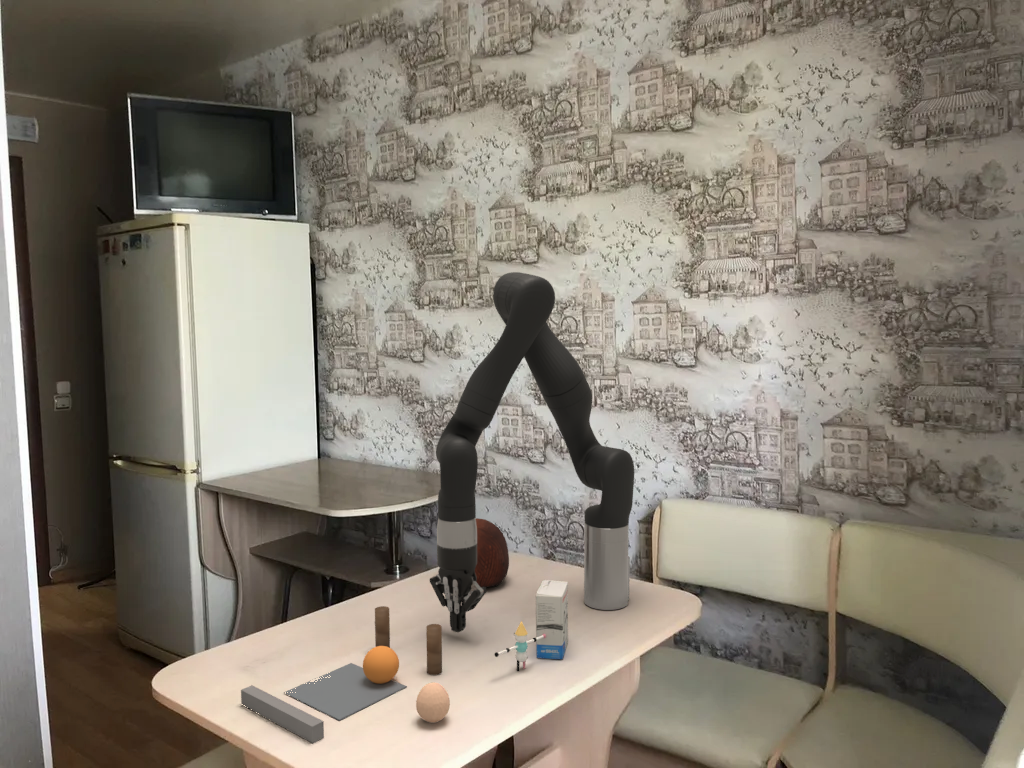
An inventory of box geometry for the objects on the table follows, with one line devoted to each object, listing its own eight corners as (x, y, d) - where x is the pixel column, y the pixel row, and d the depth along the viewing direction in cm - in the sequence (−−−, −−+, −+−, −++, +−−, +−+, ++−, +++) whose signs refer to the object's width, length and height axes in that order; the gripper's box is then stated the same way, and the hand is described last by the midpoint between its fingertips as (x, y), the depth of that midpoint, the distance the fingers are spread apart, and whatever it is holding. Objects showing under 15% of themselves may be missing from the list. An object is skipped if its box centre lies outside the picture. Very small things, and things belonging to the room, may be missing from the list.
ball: (382, 637, 140) (357, 645, 135) (408, 648, 137) (383, 657, 132) (378, 671, 141) (353, 680, 136) (404, 683, 137) (379, 693, 132)
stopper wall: (252, 700, 130) (252, 685, 130) (323, 737, 119) (323, 721, 119) (241, 704, 129) (240, 689, 129) (312, 743, 118) (312, 726, 117)
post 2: (434, 666, 142) (433, 622, 141) (445, 671, 141) (444, 626, 140) (423, 672, 140) (423, 627, 139) (434, 676, 139) (434, 631, 138)
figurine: (459, 568, 195) (459, 507, 194) (519, 578, 188) (519, 514, 187) (427, 587, 182) (427, 521, 181) (490, 598, 175) (490, 530, 174)
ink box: (562, 660, 145) (562, 596, 144) (534, 658, 146) (535, 594, 145) (568, 641, 153) (569, 580, 152) (542, 639, 154) (542, 578, 153)
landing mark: (351, 663, 143) (351, 662, 143) (406, 687, 135) (406, 686, 135) (283, 693, 133) (283, 692, 133) (339, 720, 124) (339, 719, 124)
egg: (441, 709, 127) (441, 673, 127) (455, 724, 123) (455, 686, 122) (411, 717, 125) (410, 680, 124) (424, 732, 121) (423, 694, 120)
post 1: (383, 647, 150) (382, 605, 150) (393, 651, 149) (392, 608, 148) (372, 651, 148) (371, 609, 148) (382, 655, 147) (381, 612, 146)
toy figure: (540, 656, 146) (540, 610, 145) (549, 661, 144) (550, 613, 144) (489, 677, 138) (489, 628, 137) (499, 682, 136) (499, 632, 135)
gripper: (497, 542, 151) (497, 633, 153) (445, 530, 160) (446, 616, 161) (470, 552, 146) (470, 646, 147) (417, 539, 154) (418, 627, 156)
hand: (457, 630), depth 154 cm, fingers closed
